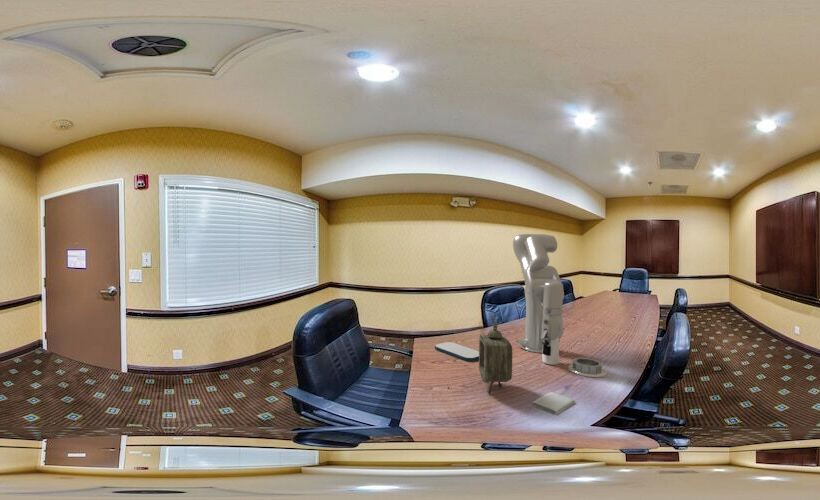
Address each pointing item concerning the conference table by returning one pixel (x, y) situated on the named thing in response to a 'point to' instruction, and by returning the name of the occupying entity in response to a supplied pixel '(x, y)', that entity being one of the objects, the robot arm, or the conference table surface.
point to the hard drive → (553, 402)
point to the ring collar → (587, 367)
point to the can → (552, 353)
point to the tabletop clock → (495, 357)
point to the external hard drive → (458, 351)
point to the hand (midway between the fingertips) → (550, 352)
